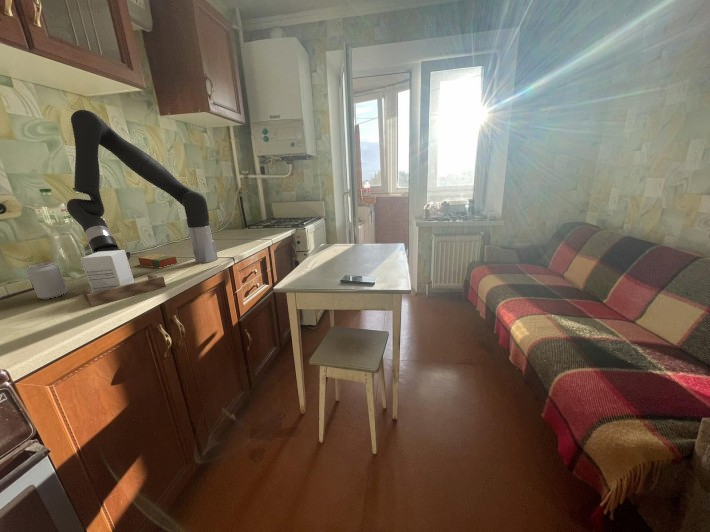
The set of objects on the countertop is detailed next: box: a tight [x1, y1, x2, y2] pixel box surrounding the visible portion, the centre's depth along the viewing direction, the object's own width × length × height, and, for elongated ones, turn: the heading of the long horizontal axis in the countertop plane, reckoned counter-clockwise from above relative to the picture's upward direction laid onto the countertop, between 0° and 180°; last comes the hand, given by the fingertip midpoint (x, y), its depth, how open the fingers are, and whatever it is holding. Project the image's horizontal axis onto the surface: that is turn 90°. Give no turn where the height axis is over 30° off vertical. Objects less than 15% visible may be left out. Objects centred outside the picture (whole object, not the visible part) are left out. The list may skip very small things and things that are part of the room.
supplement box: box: [80, 249, 135, 293], centre depth 97 cm, size 9×9×15 cm
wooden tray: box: [80, 273, 167, 308], centre depth 101 cm, size 21×15×4 cm
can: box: [27, 261, 68, 300], centre depth 98 cm, size 8×8×12 cm
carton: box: [137, 253, 178, 268], centre depth 135 cm, size 8×16×4 cm, turn 66°
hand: (119, 276), depth 102 cm, fingers closed
